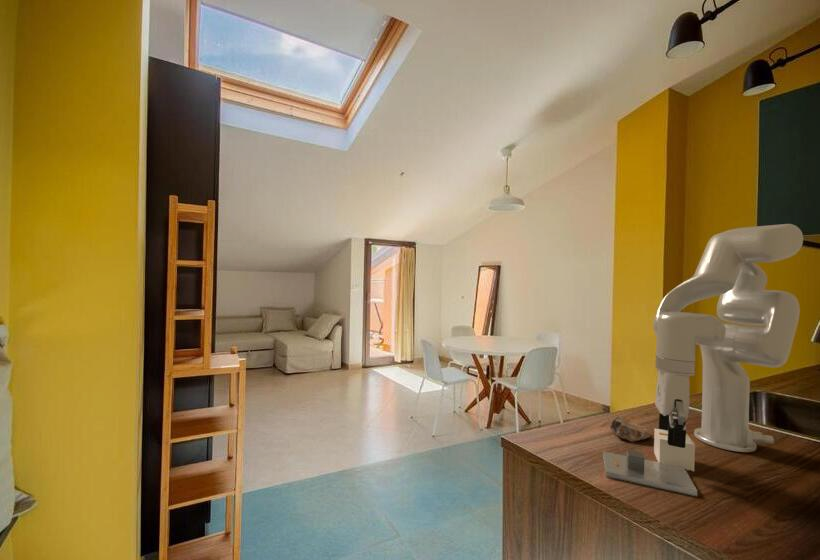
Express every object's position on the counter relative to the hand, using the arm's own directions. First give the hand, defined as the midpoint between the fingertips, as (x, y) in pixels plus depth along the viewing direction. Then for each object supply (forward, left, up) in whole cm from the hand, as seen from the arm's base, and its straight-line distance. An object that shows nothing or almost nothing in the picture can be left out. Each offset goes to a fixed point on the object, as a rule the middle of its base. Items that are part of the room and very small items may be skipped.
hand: (671, 438), depth 86 cm
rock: (+7, -13, -6) cm, 16 cm away
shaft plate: (+6, +9, -6) cm, 13 cm away
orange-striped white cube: (-1, -1, -6) cm, 6 cm away
